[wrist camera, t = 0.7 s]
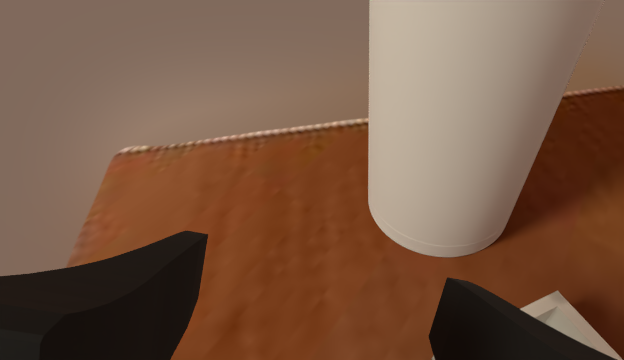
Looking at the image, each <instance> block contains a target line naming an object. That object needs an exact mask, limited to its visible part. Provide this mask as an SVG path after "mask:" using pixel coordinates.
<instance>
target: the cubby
mask: <svg viewBox="0 0 624 360" xmlns="http://www.w3.org/2000/svg"><path fill="white" fill-rule="evenodd" d="M520 310H522V311H524V312H526V313H527V314H529V315H531V316H532V317H534V318H536V319H538V320H540V321H541V322H543V323H545V324H547V325H548V326H550V327H552V328H554V329H556V330H558V331H560V332H561V333H563V334H565V335H567V336H569V337H571V338H573V339H575V340H577V341H579V342H581V343H583V344H585V345H587V346H589V347H591V348H593V349H595V350H597V351H600V352H602V353H604V354H606V355H608V356H610V357H612V358H615V359H617V360H623V359H622V358H621V357H620V356H619V355H618V354H617V353H616V352H615V351H614V350H613V349H612V348H611V347H610V346H609V345H608V344H607V343H606V341H605V340H604V339H603V338H602V337H601V336H600V335H599V334H598V333H597V332H596V331H595V330H594V329H593V328H592V327H591V326H590V325H589V323H588V322H587V321H586V320H585V319H584V318H583V317H582V316H581V315H580V314H579V313H578V312H577V311H576V310H575V309H574V308H573V307H572V305H571V304H570V303H569V302H568V301H567V300H566V299H565V298H564V297H563V296H562V295H561V294H560V293H559V292H558V291H556V292H554V293H552V294H550V295H548V296H546V297H544V298H542V299H540V300H538V301H536V302H534V303H531V304H529V305H527V306H525V307H523V308H521V309H520ZM432 360H435V358H434V355H433V358H432Z"/></svg>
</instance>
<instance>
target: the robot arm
mask: <svg viewBox="0 0 624 360" xmlns="http://www.w3.org/2000/svg"><path fill="white" fill-rule="evenodd" d="M207 238H208V234H202V233H197V232H191V231H183V232H180V233H177V234H175V235H172V236H170V237H167V238H165V239H162V240H160V241H157V242H155V243H152V244H150V245H147V246H144V247H142V248H139V249H136V250H133V251H130V252H127V253H124V254H121V255H118V256H115V257H112V258H108V259H105V260H101V261H97V262H93V263H88V264H84V265H80V266H75V267H70V268H64V269H57V270H50V271H44V272H37V273H31V274H21V275H10V276H0V360H170V359H171V357H172V355H173V353H174V351H175V349H176V348H177V346H178V344H179V342H180V340H181V338H182V336H183V334H184V332H185V331H186V329H187V327H188V324H189V321H190V319H191V316H192V313H193V311H194V308H195V305H196V302H197V300H198V296H199V289H200V283H201V276H202V270H203V264H204V257H205V251H206V244H207ZM429 340H430V343H431V347H432V351H433V354H434V358H435V360H617V359H615V358H612V357H610V356H608V355H606V354H604V353H602V352H600V351H597V350H595V349H593V348H591V347H589V346H587V345H585V344H583V343H581V342H579V341H577V340H575V339H573V338H571V337H569V336H567V335H565V334H563V333H561V332H560V331H558V330H556V329H554V328H552V327H550V326H548V325H547V324H545V323H543V322H541V321H540V320H538V319H536V318H534V317H532V316H531V315H529V314H527V313H526V312H524V311H522V310H520V309H519V308H517V307H515V306H514V305H512V304H510V303H508V302H507V301H505V300H503V299H502V298H500V297H498V296H496V295H495V294H493V293H491V292H489V291H487V290H485V289H484V288H482V287H480V286H478V285H475V284H473V283H471V282H468V281H464V280H458V279H453V278H447V280H446V283H445V286H444V289H443V292H442V296H441V299H440V302H439V305H438V308H437V311H436V315H435V318H434V321H433V324H432V327H431V330H430V334H429Z"/></svg>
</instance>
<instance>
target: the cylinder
mask: <svg viewBox="0 0 624 360" xmlns="http://www.w3.org/2000/svg"><path fill="white" fill-rule="evenodd" d="M604 1H605V0H370V14H369V17H370V18H369V21H370V23H369V167H368V202H369V208H370V211H371V214H372V216H373V218H374V220H375V222H376V223H377V225H378V226H379V227H380V229H381V230H382V231H383V232H384V233H385V234H386V235H387V236H388V237H390V238H391V239H392V240H393V241H395V242H396V243H398V244H400V245H402V246H403V247H405V248H407V249H410V250H412V251H415V252H418V253H421V254H425V255H430V256H436V257H458V256H464V255H469V254H472V253H475V252H478V251H480V250H482V249H484V248H486V247H488V246H489V245H491V244H492V243H493V242H494V241H495V240H496V239H497V238H498V237H499V236H500V235H501V234H502V232H503V230H504V229H505V226H506V224H507V222H508V220H509V217H510V215H511V213H512V211H513V208H514V206H515V204H516V201H517V199H518V197H519V195H520V192H521V190H522V188H523V185H524V183H525V181H526V179H527V176H528V174H529V172H530V169H531V167H532V165H533V163H534V160H535V158H536V156H537V153H538V151H539V149H540V147H541V144H542V142H543V140H544V138H545V135H546V133H547V131H548V128H549V126H550V124H551V122H552V119H553V117H554V115H555V112H556V110H557V108H558V106H559V103H560V101H561V99H562V96H563V94H564V92H565V89H566V87H567V85H568V83H569V80H570V78H571V76H572V74H573V71H574V69H575V67H576V64H577V62H578V60H579V58H580V55H581V53H582V51H583V48H584V46H585V44H586V42H587V39H588V37H589V35H590V32H591V30H592V28H593V26H594V23H595V21H596V19H597V16H598V14H599V12H600V10H601V7H602V5H603V3H604Z"/></svg>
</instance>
